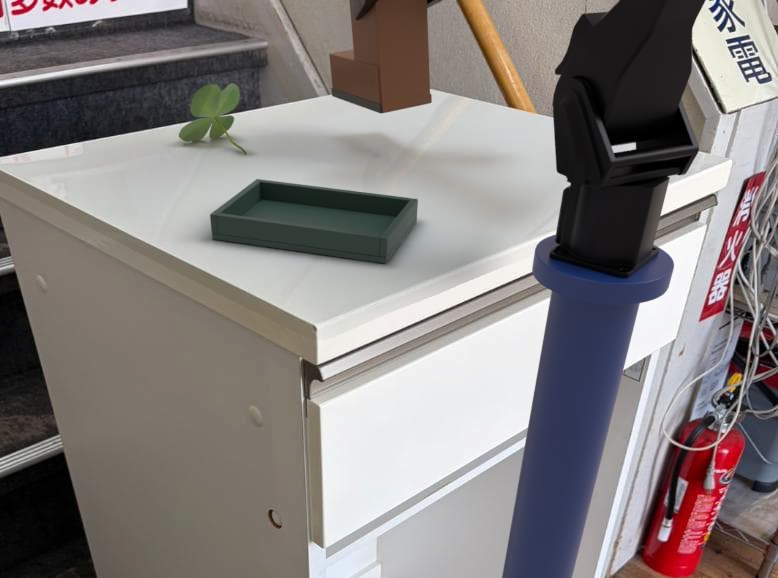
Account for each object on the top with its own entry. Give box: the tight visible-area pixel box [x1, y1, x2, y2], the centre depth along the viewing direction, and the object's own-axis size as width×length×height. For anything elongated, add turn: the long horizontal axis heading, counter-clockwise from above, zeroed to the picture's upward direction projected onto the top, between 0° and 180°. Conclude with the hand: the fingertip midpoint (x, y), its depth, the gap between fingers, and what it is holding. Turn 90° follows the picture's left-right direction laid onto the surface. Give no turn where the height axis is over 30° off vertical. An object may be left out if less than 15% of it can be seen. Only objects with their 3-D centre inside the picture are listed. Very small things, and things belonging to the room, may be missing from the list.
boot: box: [328, 0, 433, 114], centre depth 81 cm, size 11×6×14 cm, turn 27°
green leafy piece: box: [178, 82, 248, 155], centre depth 86 cm, size 7×8×6 cm
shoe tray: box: [209, 178, 419, 264], centre depth 69 cm, size 15×10×2 cm, turn 74°
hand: (381, 13), depth 80 cm, fingers closed on boot, 5 cm apart
